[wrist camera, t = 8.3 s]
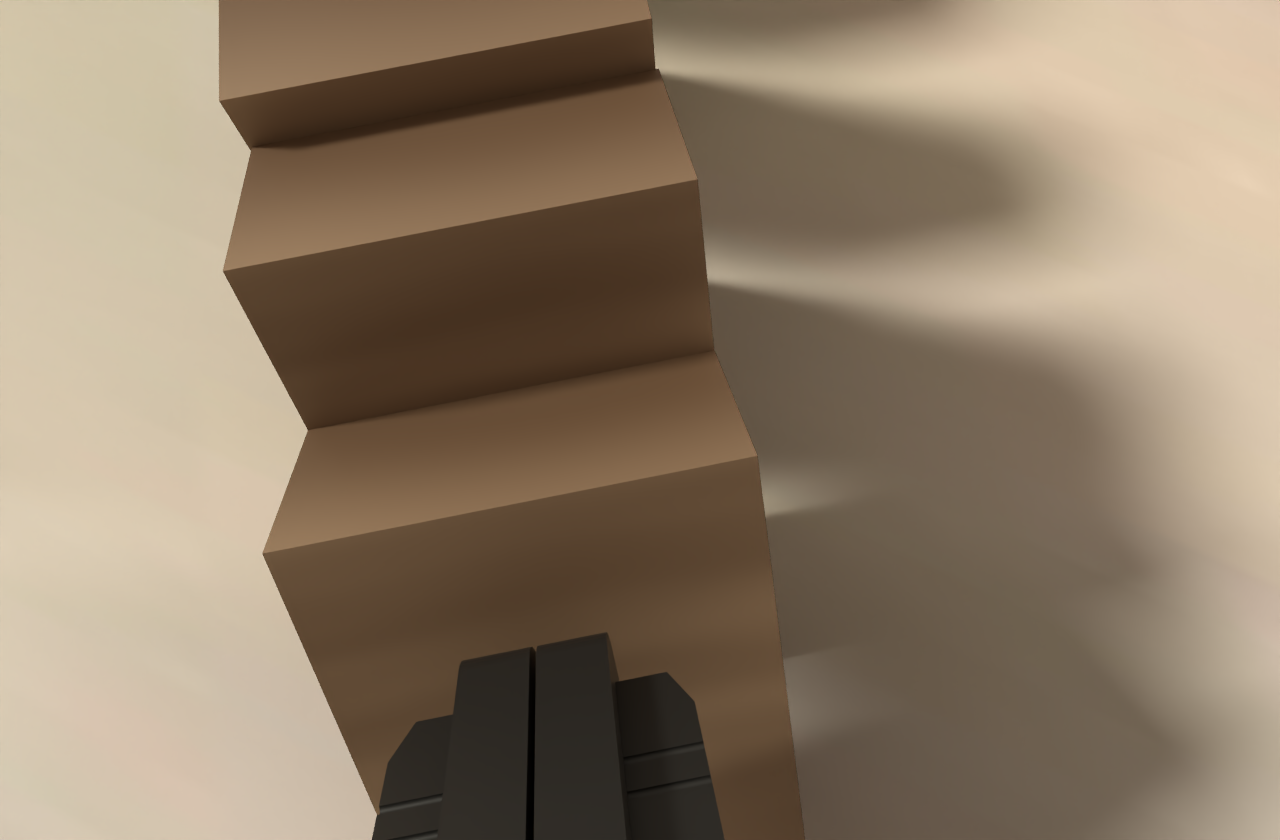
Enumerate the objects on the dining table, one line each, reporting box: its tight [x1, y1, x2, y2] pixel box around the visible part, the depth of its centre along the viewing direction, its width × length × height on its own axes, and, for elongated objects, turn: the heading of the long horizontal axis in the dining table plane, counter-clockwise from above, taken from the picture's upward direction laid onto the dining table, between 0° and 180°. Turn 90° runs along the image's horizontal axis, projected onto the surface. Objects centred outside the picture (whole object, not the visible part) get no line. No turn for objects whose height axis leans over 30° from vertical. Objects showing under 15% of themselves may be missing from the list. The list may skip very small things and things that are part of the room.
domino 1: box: [219, 0, 655, 150], centre depth 16 cm, size 2×5×9 cm, turn 100°
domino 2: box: [223, 69, 714, 430], centre depth 14 cm, size 2×5×9 cm, turn 100°
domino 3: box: [263, 351, 805, 840], centre depth 13 cm, size 2×5×9 cm
